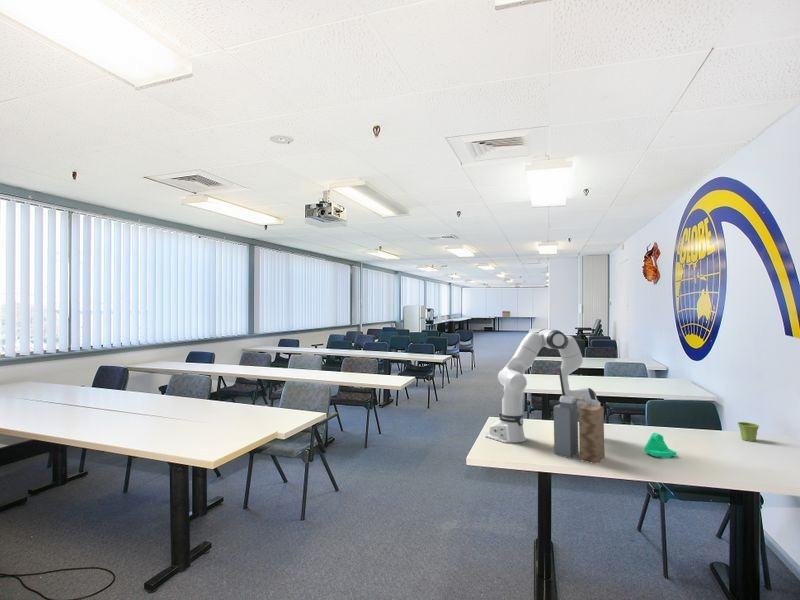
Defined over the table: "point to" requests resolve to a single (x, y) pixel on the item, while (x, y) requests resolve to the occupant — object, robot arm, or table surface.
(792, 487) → the table surface
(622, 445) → the table surface
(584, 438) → the walnut stand
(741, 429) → the plant pot
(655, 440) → the camera mount
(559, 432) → the grey stand
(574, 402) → the wood and grey block
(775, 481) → the table surface
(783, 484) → the table surface
